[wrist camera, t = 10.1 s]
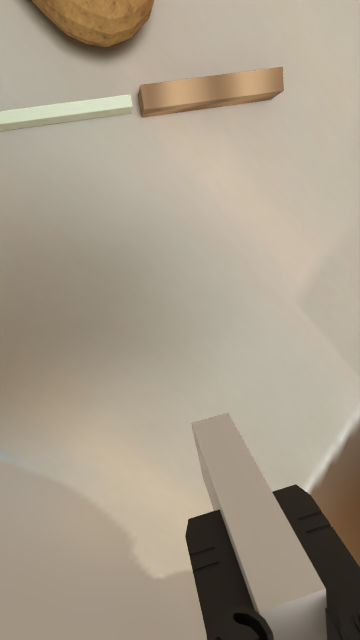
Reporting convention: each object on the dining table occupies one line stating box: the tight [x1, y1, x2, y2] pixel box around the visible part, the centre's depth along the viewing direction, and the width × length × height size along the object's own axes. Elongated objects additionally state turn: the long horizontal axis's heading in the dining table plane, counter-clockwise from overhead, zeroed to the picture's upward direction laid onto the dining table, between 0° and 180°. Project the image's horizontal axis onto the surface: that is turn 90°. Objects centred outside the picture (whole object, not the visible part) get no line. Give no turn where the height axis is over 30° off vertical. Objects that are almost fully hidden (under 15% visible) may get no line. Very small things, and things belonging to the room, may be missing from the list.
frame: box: [0, 94, 133, 131], centre depth 30 cm, size 15×17×2 cm
